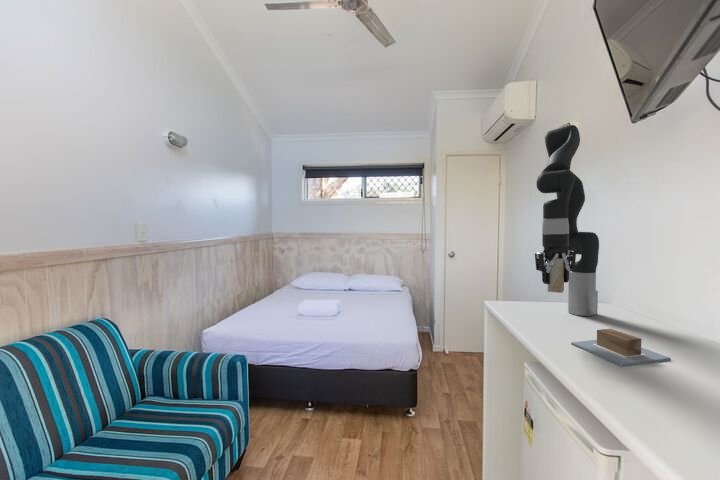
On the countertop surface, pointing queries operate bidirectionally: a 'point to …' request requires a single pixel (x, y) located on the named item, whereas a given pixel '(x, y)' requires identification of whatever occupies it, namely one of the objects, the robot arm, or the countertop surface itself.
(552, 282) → the box
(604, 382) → the countertop surface
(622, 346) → the walnut slab
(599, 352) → the plate
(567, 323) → the countertop surface
